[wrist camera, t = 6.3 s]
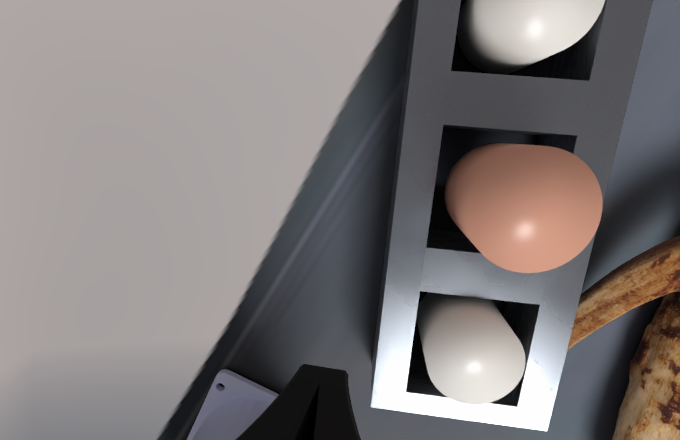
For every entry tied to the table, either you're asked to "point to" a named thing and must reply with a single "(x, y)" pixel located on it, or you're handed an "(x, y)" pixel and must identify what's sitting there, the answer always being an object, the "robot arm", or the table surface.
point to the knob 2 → (521, 30)
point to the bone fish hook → (643, 339)
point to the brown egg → (524, 204)
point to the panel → (454, 247)
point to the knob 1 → (469, 348)
